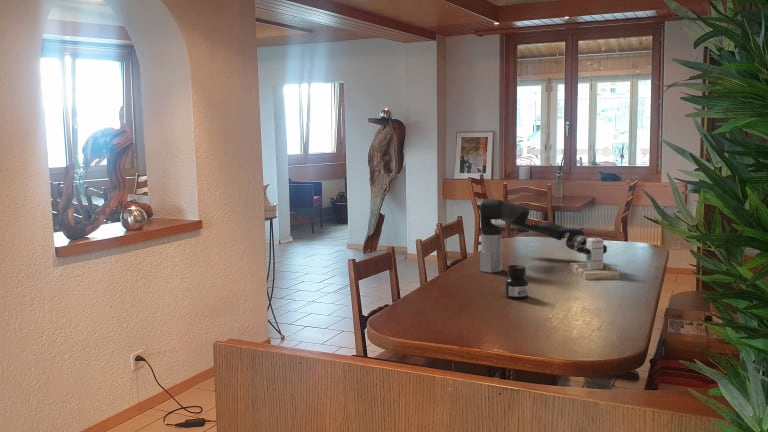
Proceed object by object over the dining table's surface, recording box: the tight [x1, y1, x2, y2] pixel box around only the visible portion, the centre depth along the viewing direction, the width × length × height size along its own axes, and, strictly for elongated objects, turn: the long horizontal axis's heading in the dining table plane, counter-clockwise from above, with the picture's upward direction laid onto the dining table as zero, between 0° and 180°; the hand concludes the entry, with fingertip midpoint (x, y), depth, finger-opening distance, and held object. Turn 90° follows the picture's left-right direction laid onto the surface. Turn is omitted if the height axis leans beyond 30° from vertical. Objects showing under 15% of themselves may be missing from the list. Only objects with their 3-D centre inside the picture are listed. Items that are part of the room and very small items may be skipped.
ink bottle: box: [504, 264, 529, 300], centre depth 275 cm, size 10×9×12 cm
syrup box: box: [585, 237, 604, 270], centre depth 313 cm, size 6×6×14 cm
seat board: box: [570, 262, 620, 281], centre depth 314 cm, size 22×15×3 cm
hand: (596, 251), depth 310 cm, fingers closed on syrup box, 6 cm apart
